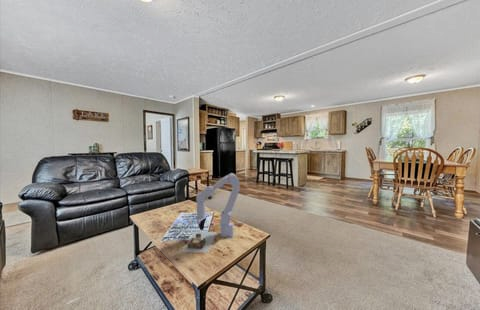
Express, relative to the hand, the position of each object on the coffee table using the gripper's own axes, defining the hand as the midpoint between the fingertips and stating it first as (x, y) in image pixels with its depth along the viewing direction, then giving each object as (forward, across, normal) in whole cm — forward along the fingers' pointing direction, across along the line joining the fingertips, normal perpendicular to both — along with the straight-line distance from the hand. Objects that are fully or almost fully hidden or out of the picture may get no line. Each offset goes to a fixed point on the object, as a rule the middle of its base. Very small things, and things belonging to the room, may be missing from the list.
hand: (201, 229), depth 119 cm
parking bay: (+5, +10, 0) cm, 12 cm away
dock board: (+6, +6, +1) cm, 8 cm away
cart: (+5, +10, 0) cm, 11 cm away
